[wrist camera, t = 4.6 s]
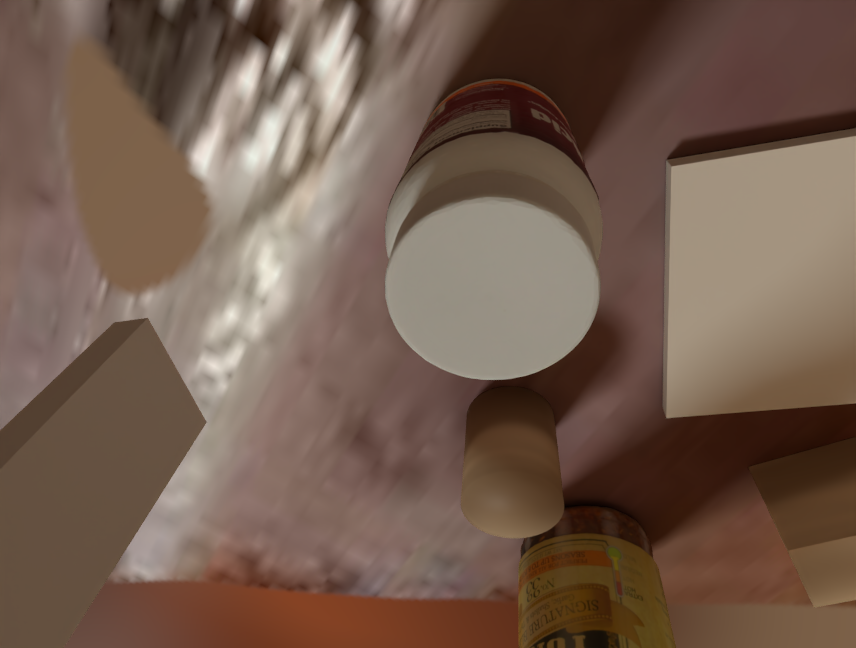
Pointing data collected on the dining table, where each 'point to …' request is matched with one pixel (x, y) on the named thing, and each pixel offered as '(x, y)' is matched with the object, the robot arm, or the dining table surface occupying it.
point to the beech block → (816, 516)
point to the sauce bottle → (591, 585)
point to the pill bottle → (494, 235)
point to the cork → (511, 464)
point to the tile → (761, 277)
